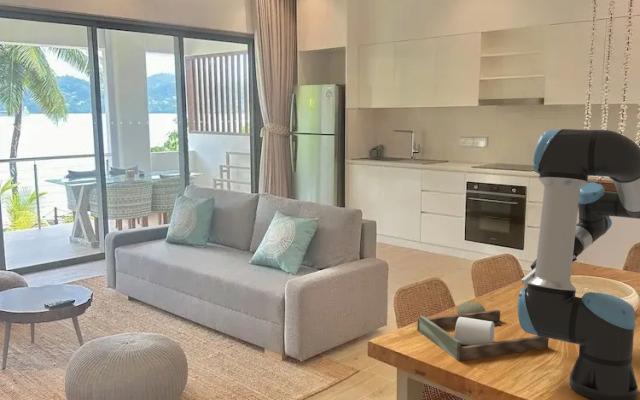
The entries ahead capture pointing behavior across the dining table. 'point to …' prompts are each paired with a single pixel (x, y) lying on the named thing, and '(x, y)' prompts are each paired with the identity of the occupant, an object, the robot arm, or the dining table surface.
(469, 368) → the dining table surface
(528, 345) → the wooden tray
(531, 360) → the dining table surface
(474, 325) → the mug
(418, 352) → the dining table surface
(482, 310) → the sea urchin shell
